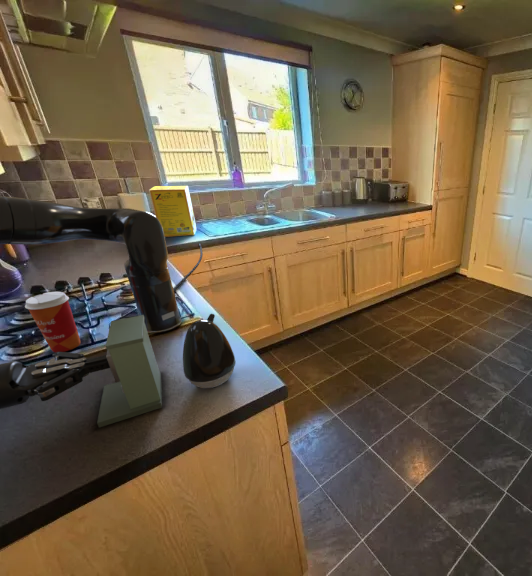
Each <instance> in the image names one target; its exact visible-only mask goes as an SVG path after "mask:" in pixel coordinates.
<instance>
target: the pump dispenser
mask: <svg viewBox="0 0 532 576" xmlns="http://www.w3.org/2000/svg"><path fill="white" fill-rule="evenodd" d="M215 317H216V315H215V313H210V314H209V315H208V317H207V319H200V320H197V321H194V322H193V323H192V324H191V325H190V326H189V328H188V329H187V330H186V333H185V337H184V341H183V346H182V348H183V349H182V371H183V375H184V377H185V378H186V379H187V380H188V381H189V382H190V383H191V384H192V385H193V386H195V387H197V388H201V389H212V388H216V387H219V386H221V385H223V384H224V383H226V382H227V381H228V380H229V379H230V378H231V377H232V375H233V373H234V370H235V366H236V361H237V360H236V357H235V353H234V351H233V349H232V346H231V344H230V342H229V340H228V338H227V337H226V335H225V334H224V332H223V331H222V330H221V328H220V327H219V325H217V324H216V323H215V322H214V320H215Z"/></svg>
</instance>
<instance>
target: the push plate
mask: <svg viewBox="0 0 532 576" xmlns="http://www.w3.org/2000/svg"><path fill="white" fill-rule="evenodd" d="M105 355H106V358H107V361H108V363H109V366H110V368H109V369H110V371H111V374H112V377H113V379H114V383H117V382H120V379H119V377H118V374H117V371H116V368H115V366H114V363H113V360H112V358H111V355H110V352H109V350H107V349H106V354H105Z"/></svg>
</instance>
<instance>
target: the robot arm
mask: <svg viewBox="0 0 532 576" xmlns="http://www.w3.org/2000/svg"><path fill="white" fill-rule="evenodd" d="M76 240H93V241H94V240H95V241H107V242H114V243H120V244H124V245H125V248H126V251H127V255H128V259H127V260H126V261H125V262H124V265H123V266H124V270H125V273H126V277H127V279H128V283H129V286H130V289H131V292H132V295H133V299H134V302H135V306H136V309H137V312H138V316H140V315H144V322H145V326H146V329H147V332H148V334H151V335H153V334H156V335H157V334H163V333H167V332H170V331H172V330H174V329H176V328H178V327H179V326H181V325H182V322H183V321H182V318H181V314H180V310H179V307H178V302H177V298H176V294H175V291H177V289H178V288H179V287H180V286H181V285H182V284H183V283H184V282H185V281H186V280H187V278H189V277H190V276H191V275H192V274H193V272H195V270H196V269H197V268H198V267H199V265H200V263H201V262H202V259H203V255H204V254H203V248H202V245H201V243H198V247H199V251H200V253H199V254H200V256H199V259H198V261H197V262H196V263H195V266H194V267H193V268H192V269H191V270H190V271H189V272H188V273H187V274H186V275H185V276H184V277H183V278H182V279H181V280H180V281H179V282H178V283H177V284H176V285H175V286H174V287H173V282H172V278H171V275H170V271H169V267H168V266H169V265H168V258H169V252H168V247H167V243H166V242H167V241H166V237H165V236H164V232H163V228H162V225H161V223H160V221H159V220H158V219H157V218H156V216H155V214H153V213H151V212H148V211H145V210H140V209H134V208H129V207H127V208H93V207H92V208H91V207H78V206H73V205H68V204H63V203H59V202H58V203H57V202H52V201H46V200H40V199H33V198H31V199H30V198H24V197H13V196H2V195H0V245H48V244H56V243H57V244H58V243H63V242H70V241H76ZM106 355H107V354H104V355H101V356H96V357H92V358H87V357H85V354H84V353H78V352H69V351H65V352H52V358H51V359H48V360H44V361H38V362H36V363H33V364H30V365H25V364H23V363H22V362H20V361H9V362H5V363H0V410H2V409H6V408H10V407H11V408H12V407H15V406H18V405H19V406H20V405H22V404H24V403H26V402H27V401H28V400H29V399H30V397H33V396H39V398H40V401H41V402H45V401H48V400H51V399H52V398H55V397H57V396H58V395H60V394H62V393H63V392H65V391H68V390H69V389H71V388H73V387H75V386H77V385H79V384H81V383H82V382H83V381H84V380H83V378H84V377H85V378H86V377H87V376H89V375H90V374H92V373H95V372H99V371H103V370H104V371H105V370H108V369H110V366H109V363H108V361H107V358H106Z"/></svg>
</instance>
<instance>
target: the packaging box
mask: <svg viewBox="0 0 532 576" xmlns="http://www.w3.org/2000/svg"><path fill="white" fill-rule="evenodd" d="M189 189H190V188H189V185H157V186H153V187H151V188H149V189H148V193H149V196H150V201H151V205H152V209H153V212H154V216H155V217H156V218H157V219H158V220H159V221H160V223H161V225H162V228H163V232H164V236H165V238H169V237H171V238H172V237H184V236H195V234H196V232H197V224H196V219H195V213H194V209H193V203H192V199H191V194H190V190H189Z"/></svg>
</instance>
